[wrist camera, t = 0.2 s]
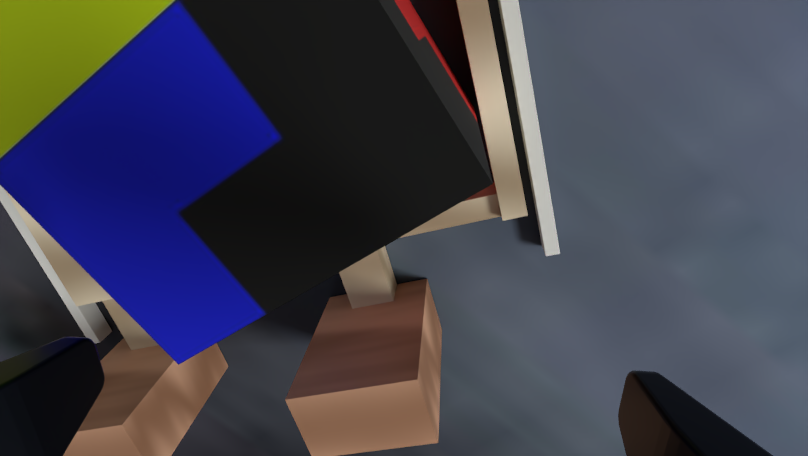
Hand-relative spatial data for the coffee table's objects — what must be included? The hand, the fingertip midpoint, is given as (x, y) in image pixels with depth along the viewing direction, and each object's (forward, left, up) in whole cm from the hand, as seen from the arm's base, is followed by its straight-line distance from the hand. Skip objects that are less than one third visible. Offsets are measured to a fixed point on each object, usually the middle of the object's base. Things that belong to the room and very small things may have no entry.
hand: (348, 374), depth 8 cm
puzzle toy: (+5, +3, -14) cm, 15 cm away
